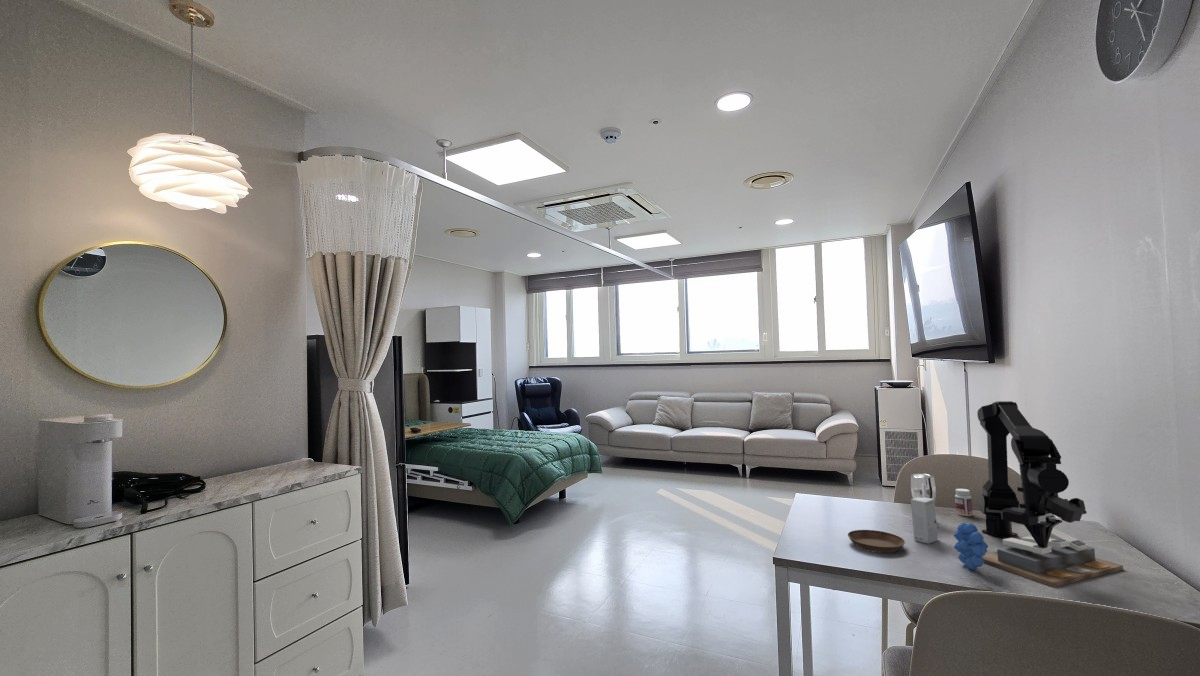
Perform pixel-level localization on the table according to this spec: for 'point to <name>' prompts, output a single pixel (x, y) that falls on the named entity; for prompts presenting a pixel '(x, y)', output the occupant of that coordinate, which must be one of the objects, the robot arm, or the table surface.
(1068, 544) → the rocker middle
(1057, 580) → the switch panel
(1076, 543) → the rocker
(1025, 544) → the rocker
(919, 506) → the skincare box
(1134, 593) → the table surface
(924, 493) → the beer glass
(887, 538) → the saucer
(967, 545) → the grapes
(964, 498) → the pill bottle
